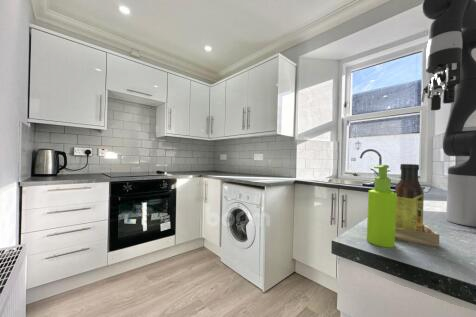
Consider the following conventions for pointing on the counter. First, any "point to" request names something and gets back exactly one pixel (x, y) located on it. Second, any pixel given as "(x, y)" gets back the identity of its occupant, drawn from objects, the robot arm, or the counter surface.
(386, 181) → the soap dispenser
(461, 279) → the counter surface
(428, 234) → the wooden stand
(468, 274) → the counter surface
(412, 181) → the sauce bottle
